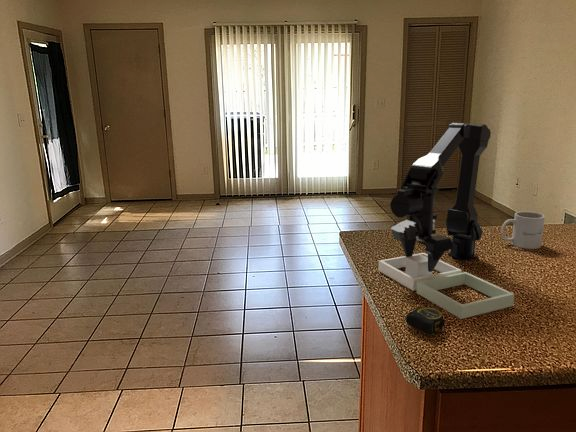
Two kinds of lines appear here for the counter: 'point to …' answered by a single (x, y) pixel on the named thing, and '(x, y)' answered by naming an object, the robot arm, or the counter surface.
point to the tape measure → (426, 320)
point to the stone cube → (417, 266)
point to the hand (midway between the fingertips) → (419, 265)
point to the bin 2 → (497, 302)
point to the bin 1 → (391, 271)
